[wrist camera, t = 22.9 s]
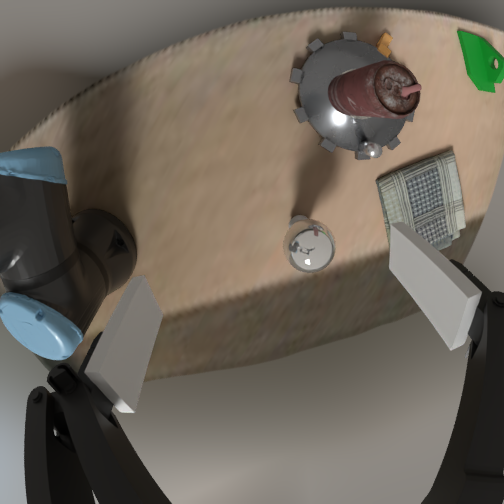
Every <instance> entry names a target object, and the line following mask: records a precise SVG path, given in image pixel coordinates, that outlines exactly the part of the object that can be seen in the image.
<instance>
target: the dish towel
mask: <svg viewBox="0 0 504 504" xmlns="http://www.w3.org/2000/svg"><path fill="white" fill-rule="evenodd" d="M376 184H377V187H378V192H379V197H380V201H381V205H382V210H383V216H384V222H385V227H386V232H387V237H388V242H389V249H390V224H393V223H397V222H402V221H403V222H404V223H405V224H406V225H408V226H409V227H410V228H411V229H413V230H414V231H415V232H416V233H418V234H419V235H420V236H421V237H422V238H424V239H425V240H426V241H427V242H428V243H430V244H431V245H432V246H433V247H434V248H435V249H437V250H441V249H443V248H446V247H448V246H450V245H451V241H452V240H454V239H455V238H458V237H459V236H460V232H459V229H462V228H465V227H466V224H465V214H464V206H463V200H462V193H461V186H460V181H459V176H458V172H457V167H456V162H455V155H454V153H453V151H452V150H450V151H447V152H444V153H442V154H439V155H437V156H434V157H431V158H428V159H425V160H422V161H420V162H417V163H415V164H413V165H410V166H408V167H405V168H402V169H400V170H397V171H395V172H392V173H390V174H387V175H386V176H384V177H381V178H379V179H377V180H376Z"/></svg>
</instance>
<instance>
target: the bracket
mask: <svg viewBox="0 0 504 504" xmlns="http://www.w3.org/2000/svg"><path fill="white" fill-rule="evenodd" d="M457 33H458V37H459V40H460V44H461V48H462V52H463V56H464V61H465V65H466V70H467V75H468V76H469V77H470V79H471V80H472V81H473V83H474V84H475V86H476V87H477V88H478V90H481V91H487V92H493V93H495V87H494V83H501V82H502V80H503V79H504V58H503V56H502V55H501V54H500V53H499V52H498V51H497V50H496V49H495V48H494V47H493V46H492V45H491V44H489V43H488V42H487V41H486V40H485V39H484V38H482V37H479V36H476V35H473V34H470V33H466V32H463V31H457ZM495 59H497V61H498V68H497V69H496V68H495V65H494V60H495Z"/></svg>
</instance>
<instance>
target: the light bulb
mask: <svg viewBox="0 0 504 504" xmlns="http://www.w3.org/2000/svg"><path fill="white" fill-rule="evenodd" d="M283 250H284V254H285V257H286V259H287V261H288V262H289V263H290V264H291V265H292V266H293V267H294V268H295V269H297V270H299V271H302V272H307V273H313V272H318V271H320V270H322V269H324V268H325V267H327V266H328V265H329V264H330V262H331V261H332V259H333V257H334V254H335V251H336V241H335V238H334V235H333V233H332V231H331V230H330V229H329V228H328V227H327V226H326V225H325V224H324V223H322V222H320V221H318V220H313V219H308V218H307V217H305V216H303V215H297V216H295V217H293V218H292V219H291V220H290V222H289V229H288V231H287V233H286V235H285V237H284V241H283Z"/></svg>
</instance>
